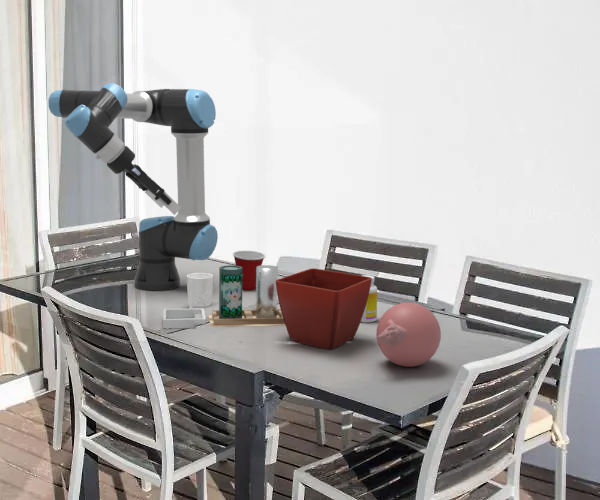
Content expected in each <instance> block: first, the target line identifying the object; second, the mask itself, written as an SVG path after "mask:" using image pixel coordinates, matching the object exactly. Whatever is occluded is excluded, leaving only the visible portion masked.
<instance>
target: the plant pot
mask: <svg viewBox="0 0 600 500" xmlns="http://www.w3.org/2000/svg"><path fill="white" fill-rule="evenodd" d="M371 281H372V278H371V277H366V276H362V275H360V274H353V273H347V272H341V271H340V272H339V271H334V270H327V269H320V268H308V269H305V270H301V271H299V272H295V273H293V274H290V275H287V276H285V277H284V276H283V277H282V278H278V279H277V280H276V289H277V301H278V304H279V307H280V308H279V309H281V312H282V316H283V319H284V322H285V325H284V326H285V328H286V331H287V334H288V336H289V338H290V339H291V340H290V341H291V342H294V343H298V344H303V345H307V346H312V347H317V348H321V349H325V350H333V349H336V348H338V347H340V346H342V345H344V344H345V343H347V342H350V341H351V340H353V339H354V338H355V337H356V334H357V332H358V329H359V327H360V324H361V323H362V322H361V319H362V316H363V313H364V310H365V307H366V303H367V300H368V296H369V291H370V287H371Z"/></svg>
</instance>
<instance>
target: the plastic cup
mask: <svg viewBox="0 0 600 500" xmlns="http://www.w3.org/2000/svg"><path fill="white" fill-rule="evenodd" d="M232 256H233V259H234V263H235V266H241V267H242V268H243V274H242V291H256V267H257V266H261V265H263V262H264V260H265V258H266V255H265V253H263V252H261V251H255V250H237V251H234V252H232Z"/></svg>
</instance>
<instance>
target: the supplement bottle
mask: <svg viewBox="0 0 600 500" xmlns="http://www.w3.org/2000/svg"><path fill="white" fill-rule="evenodd" d="M361 276H366V277H371V278H372V281H371V287H370V291H369V296H368V300H367V303H366V307H365V310H364V313H363V316H362V319H361V322H360V323H367V324H368V323H373V322H375V321H377V313H378V310H377V309H378V287H377V286H376V285H375V284H374V283H375V276H373V275H366V274H365V275H361Z"/></svg>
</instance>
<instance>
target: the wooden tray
mask: <svg viewBox="0 0 600 500" xmlns="http://www.w3.org/2000/svg"><path fill="white" fill-rule="evenodd" d="M208 319H209V325H210V328H219V327H220V328H221V327H222V328H227V327H228V328H230V327H268V326H269V327H271V326H272V327H273V326H276V327H277V326H281V327H282V326H283V327H284V326H286V325H285V322H284V319H283V316H282V312H281V309H280V308H279V309H278V308H277V318H256V309H242V318H236V319H219V309H218V310H215V309H214V310H211V313H210V314H208Z"/></svg>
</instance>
